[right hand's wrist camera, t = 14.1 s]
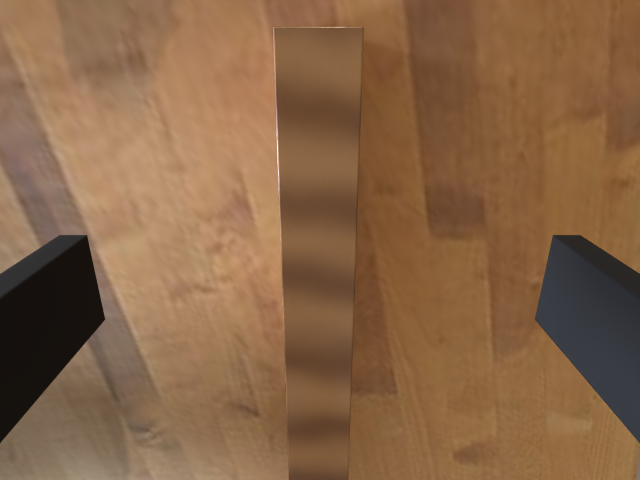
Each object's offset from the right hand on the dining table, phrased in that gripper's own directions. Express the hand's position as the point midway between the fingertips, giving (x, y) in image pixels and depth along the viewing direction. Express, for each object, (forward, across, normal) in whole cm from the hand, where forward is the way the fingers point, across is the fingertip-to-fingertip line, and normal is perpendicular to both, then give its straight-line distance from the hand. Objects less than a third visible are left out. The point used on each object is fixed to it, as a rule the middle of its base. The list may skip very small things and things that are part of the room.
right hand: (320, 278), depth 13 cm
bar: (+25, 0, -28) cm, 37 cm away
